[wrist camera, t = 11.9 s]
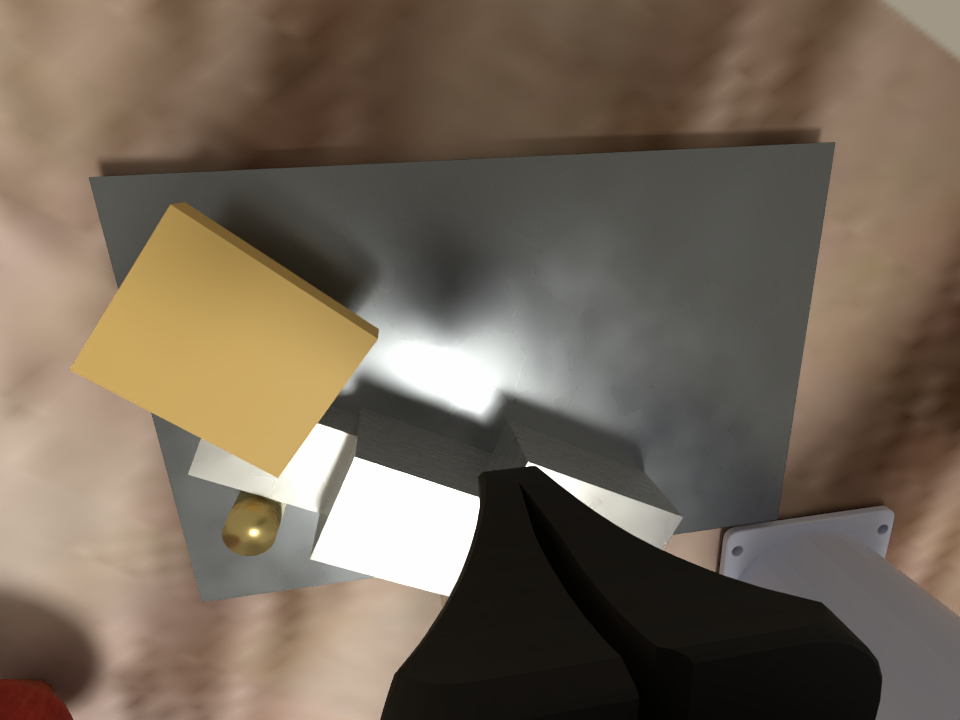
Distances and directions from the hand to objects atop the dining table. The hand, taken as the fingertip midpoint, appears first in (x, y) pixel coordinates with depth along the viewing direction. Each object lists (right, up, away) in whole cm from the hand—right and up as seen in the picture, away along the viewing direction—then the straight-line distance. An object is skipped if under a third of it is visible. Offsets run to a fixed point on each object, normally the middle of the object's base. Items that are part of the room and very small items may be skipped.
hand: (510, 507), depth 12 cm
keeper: (-8, +4, +5) cm, 10 cm away
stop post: (-8, -1, +7) cm, 11 cm away
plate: (0, +3, +7) cm, 8 cm away
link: (-2, -1, +8) cm, 8 cm away
